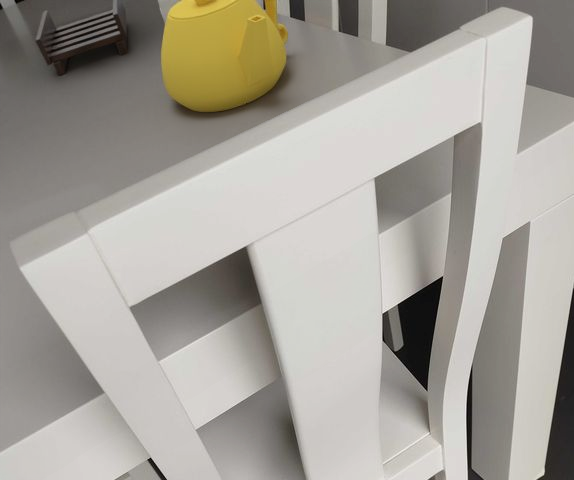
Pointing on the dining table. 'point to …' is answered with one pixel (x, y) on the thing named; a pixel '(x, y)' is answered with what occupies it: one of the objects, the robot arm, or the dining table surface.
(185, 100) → the teapot
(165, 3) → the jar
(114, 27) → the rack
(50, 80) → the dining table surface
